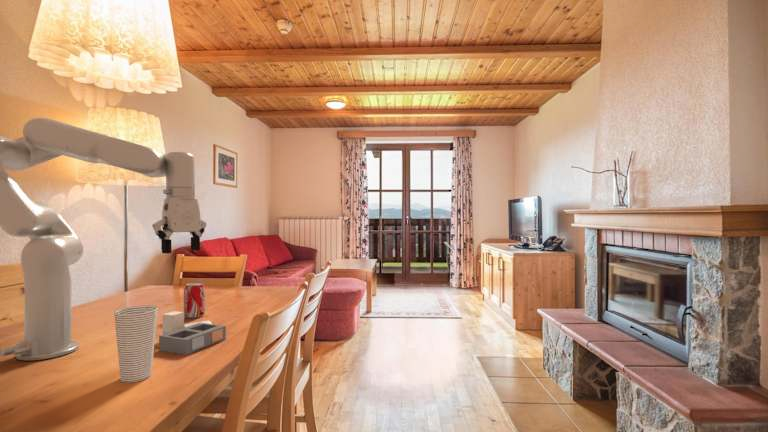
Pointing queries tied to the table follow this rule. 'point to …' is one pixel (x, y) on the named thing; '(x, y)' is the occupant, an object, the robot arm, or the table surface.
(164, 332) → the cream rectangular block
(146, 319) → the cup
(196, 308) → the soda can
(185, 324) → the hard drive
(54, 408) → the table surface
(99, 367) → the table surface
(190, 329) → the grey compartment tray
